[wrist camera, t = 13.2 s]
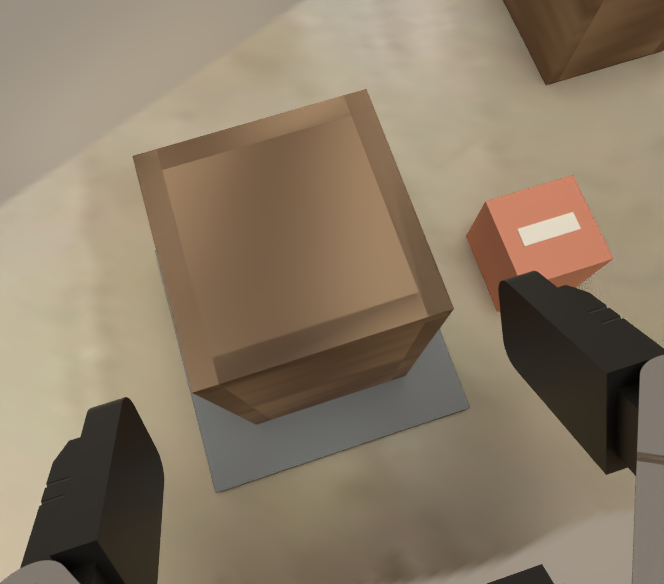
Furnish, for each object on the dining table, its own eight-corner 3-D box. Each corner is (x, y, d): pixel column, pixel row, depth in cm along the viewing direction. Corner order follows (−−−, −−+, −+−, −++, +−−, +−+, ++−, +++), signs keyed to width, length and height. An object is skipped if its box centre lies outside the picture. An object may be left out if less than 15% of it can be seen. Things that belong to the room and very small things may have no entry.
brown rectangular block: (356, 238, 24) (366, 89, 15) (405, 375, 22) (453, 308, 13) (216, 281, 24) (132, 156, 14) (256, 424, 22) (191, 392, 12)
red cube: (541, 213, 25) (573, 174, 22) (575, 287, 24) (614, 258, 21) (466, 236, 25) (486, 200, 21) (497, 312, 24) (523, 286, 20)
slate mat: (381, 188, 25) (382, 181, 25) (466, 408, 23) (469, 407, 22) (159, 255, 25) (154, 250, 24) (219, 491, 22) (215, 492, 21)
